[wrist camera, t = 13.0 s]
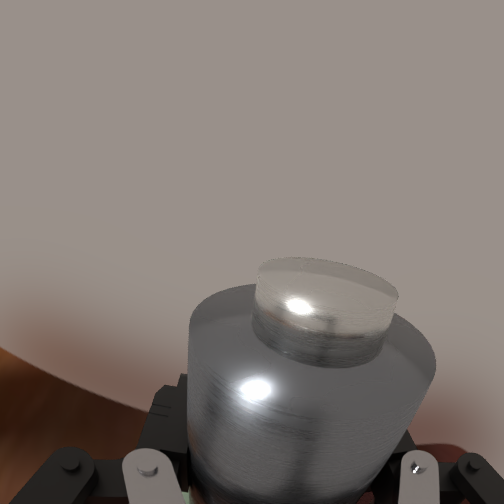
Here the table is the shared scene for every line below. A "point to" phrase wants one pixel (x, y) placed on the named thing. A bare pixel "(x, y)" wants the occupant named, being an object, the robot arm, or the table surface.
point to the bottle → (300, 385)
